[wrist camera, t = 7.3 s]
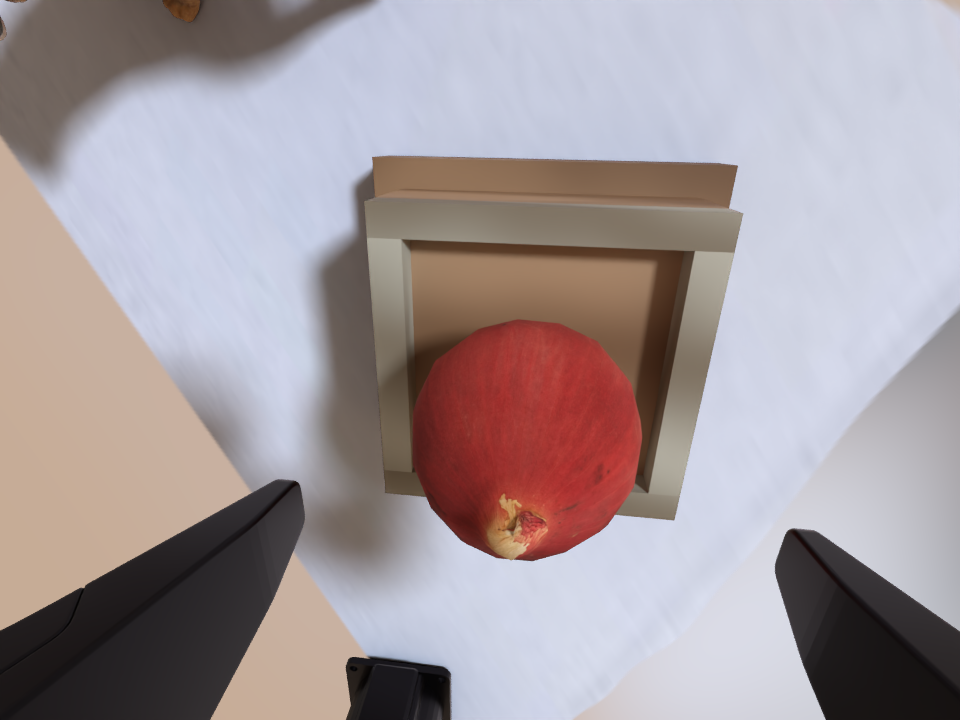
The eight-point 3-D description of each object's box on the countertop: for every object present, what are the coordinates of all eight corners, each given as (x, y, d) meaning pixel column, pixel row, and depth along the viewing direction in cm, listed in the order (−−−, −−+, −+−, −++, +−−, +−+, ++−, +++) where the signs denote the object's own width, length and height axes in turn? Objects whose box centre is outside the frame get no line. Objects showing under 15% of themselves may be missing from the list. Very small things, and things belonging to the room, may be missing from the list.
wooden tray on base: (661, 447, 22) (699, 545, 17) (403, 427, 24) (360, 512, 18) (718, 163, 18) (795, 172, 12) (388, 155, 19) (325, 161, 13)
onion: (607, 457, 17) (642, 690, 10) (443, 437, 18) (364, 642, 11) (637, 294, 15) (712, 444, 7) (446, 278, 15) (346, 402, 8)
